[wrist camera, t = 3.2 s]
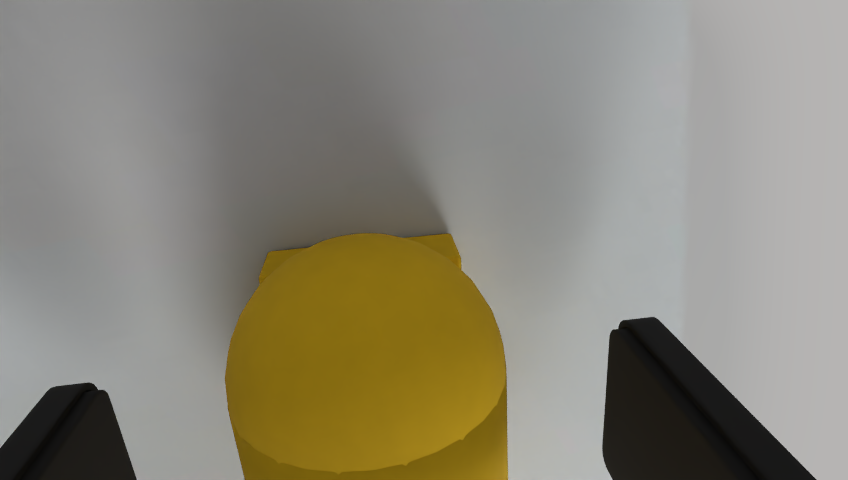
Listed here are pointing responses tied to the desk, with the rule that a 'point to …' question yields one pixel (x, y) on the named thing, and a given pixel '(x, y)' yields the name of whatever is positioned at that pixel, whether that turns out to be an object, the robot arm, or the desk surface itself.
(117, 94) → the desk surface
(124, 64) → the desk surface
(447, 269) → the duck
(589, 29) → the desk surface
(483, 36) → the desk surface
